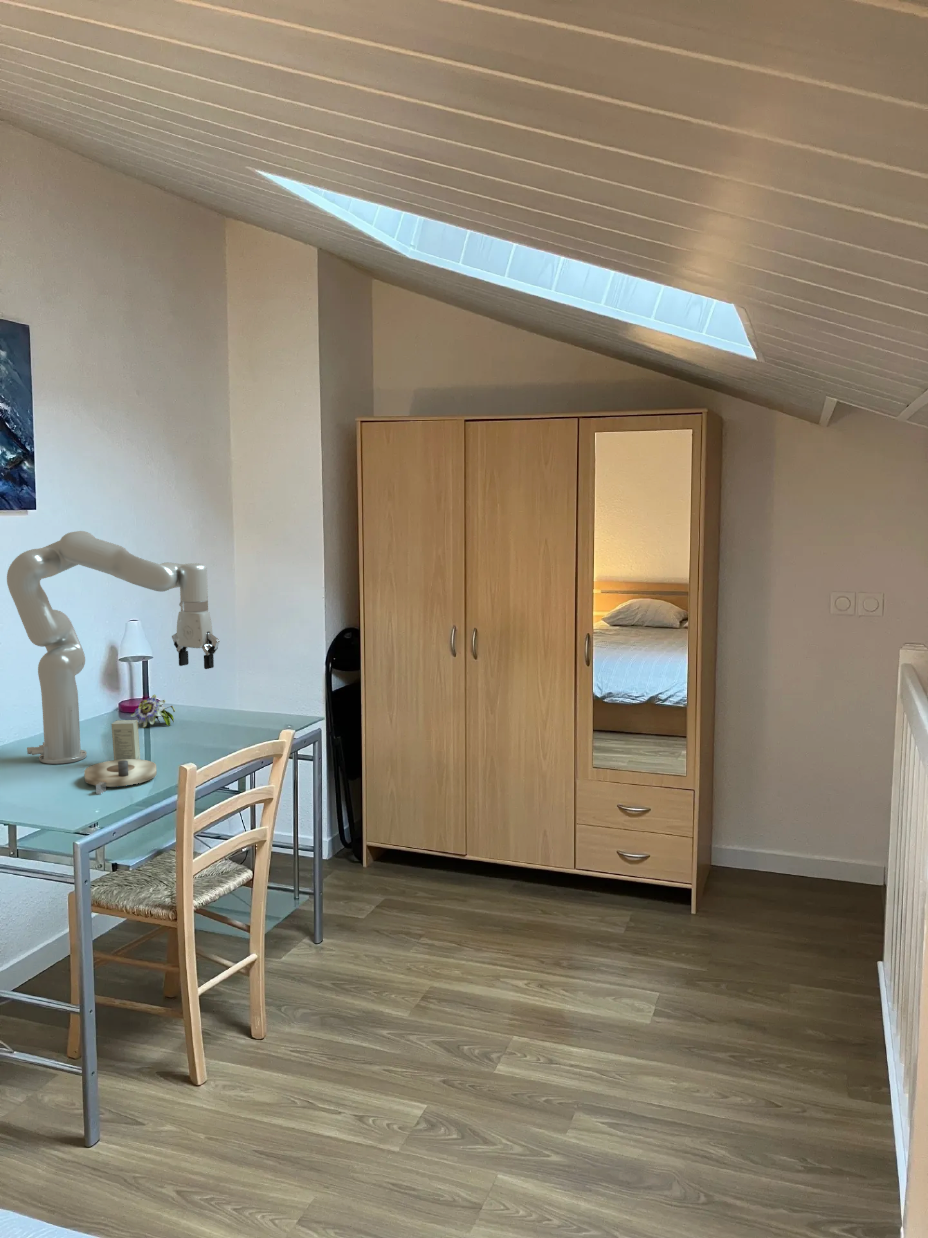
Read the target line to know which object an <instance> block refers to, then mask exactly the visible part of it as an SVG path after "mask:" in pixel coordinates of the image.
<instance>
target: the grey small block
mask: <svg viewBox="0 0 928 1238" xmlns="http://www.w3.org/2000/svg"><path fill="white" fill-rule="evenodd" d="M104 791H105V792H107V787H106V781H102V782H100V783H98V784H97V785H96V786H95V794H96V795H102V794H104V793H105V792H104ZM103 792H104V793H103ZM101 793H102V794H101Z"/></svg>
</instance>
